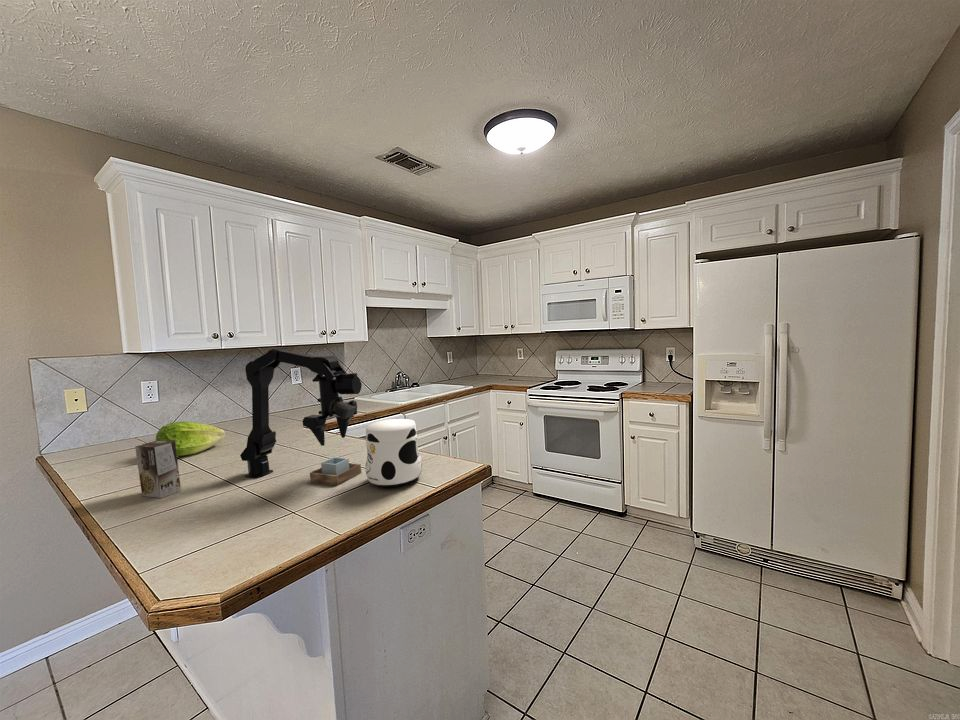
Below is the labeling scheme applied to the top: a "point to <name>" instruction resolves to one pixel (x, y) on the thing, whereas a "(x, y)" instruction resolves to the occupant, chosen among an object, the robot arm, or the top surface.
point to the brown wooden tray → (335, 479)
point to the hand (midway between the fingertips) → (333, 441)
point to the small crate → (335, 466)
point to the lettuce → (190, 436)
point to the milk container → (392, 452)
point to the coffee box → (158, 468)
